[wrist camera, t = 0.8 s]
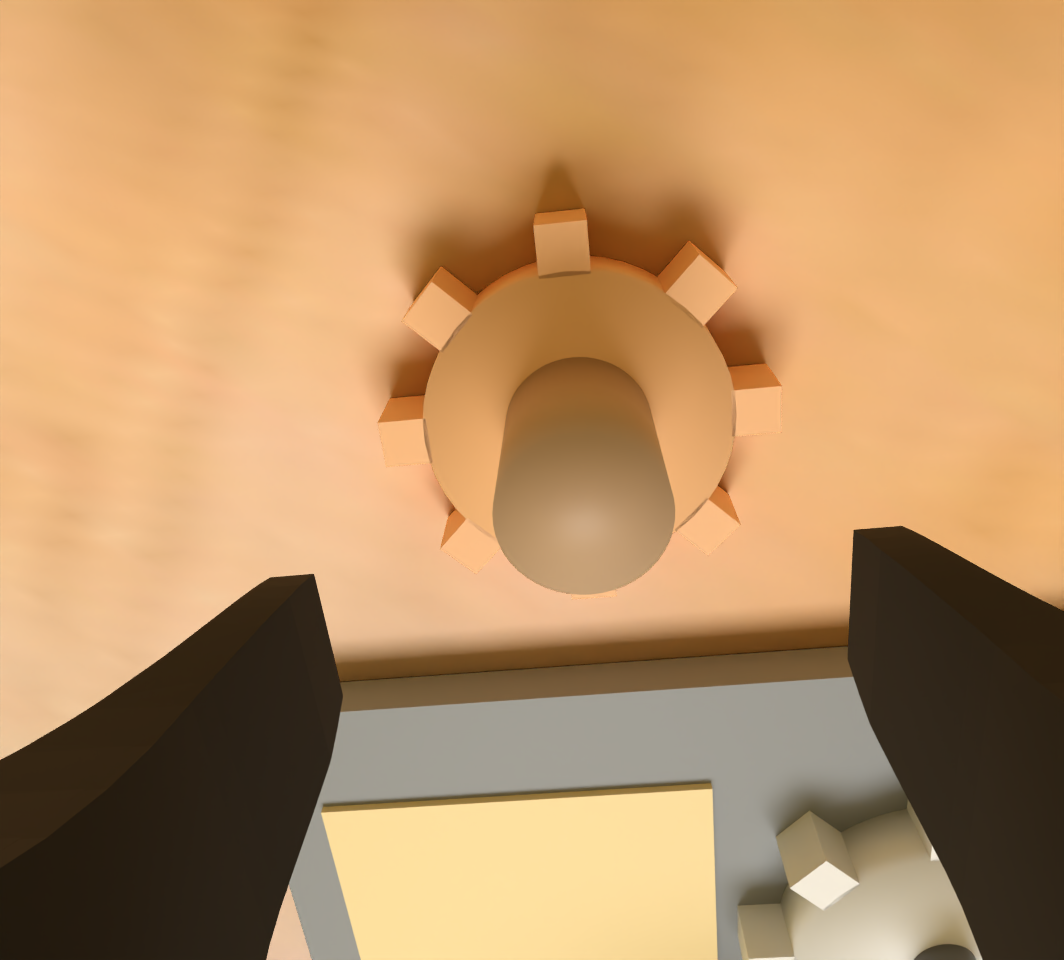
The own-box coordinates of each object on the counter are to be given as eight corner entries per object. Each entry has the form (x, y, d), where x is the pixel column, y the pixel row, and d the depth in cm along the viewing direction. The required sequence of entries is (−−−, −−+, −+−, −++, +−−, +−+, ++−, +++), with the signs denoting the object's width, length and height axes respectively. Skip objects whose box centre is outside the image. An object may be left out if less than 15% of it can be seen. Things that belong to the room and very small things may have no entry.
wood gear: (766, 188, 18) (847, 237, 13) (765, 550, 21) (829, 700, 16) (359, 232, 18) (284, 294, 13) (422, 577, 22) (382, 730, 17)
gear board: (1137, 625, 22) (1322, 804, 16) (1059, 1008, 28) (1177, 1231, 22) (253, 688, 23) (164, 870, 18) (355, 1038, 29) (309, 1253, 24)
